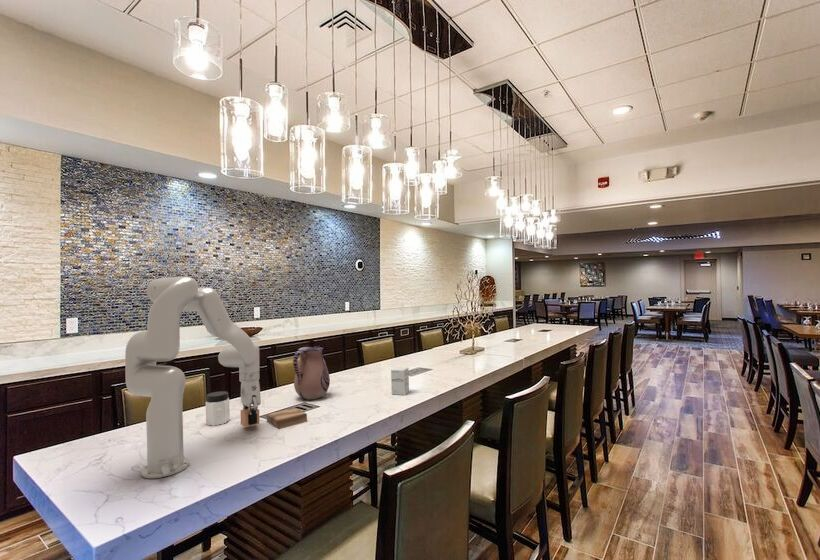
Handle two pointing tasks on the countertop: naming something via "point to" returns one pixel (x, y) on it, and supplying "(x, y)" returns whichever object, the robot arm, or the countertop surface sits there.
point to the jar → (217, 408)
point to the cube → (245, 417)
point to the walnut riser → (286, 418)
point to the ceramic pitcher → (310, 373)
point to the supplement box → (400, 381)
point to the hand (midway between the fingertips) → (250, 421)
